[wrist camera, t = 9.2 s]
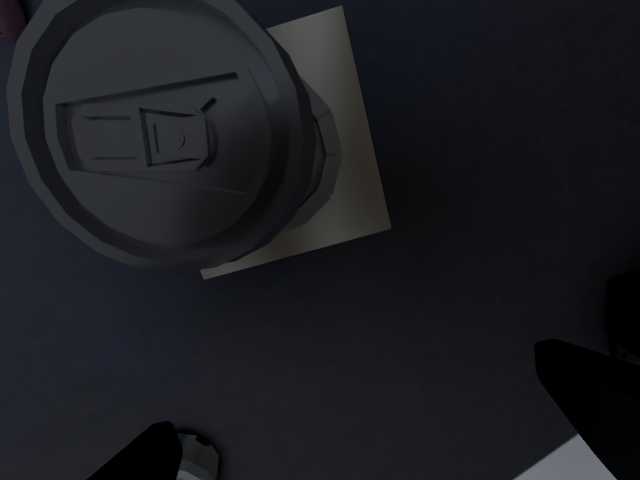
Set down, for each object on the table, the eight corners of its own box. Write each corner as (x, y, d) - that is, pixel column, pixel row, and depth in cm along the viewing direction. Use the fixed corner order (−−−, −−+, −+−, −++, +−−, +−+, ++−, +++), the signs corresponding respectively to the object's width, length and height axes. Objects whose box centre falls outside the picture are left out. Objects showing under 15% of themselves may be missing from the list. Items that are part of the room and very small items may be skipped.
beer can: (223, 205, 17) (36, 287, 6) (215, 106, 16) (-55, -56, 4) (315, 204, 17) (318, 282, 6) (314, 105, 16) (315, -55, 4)
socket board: (339, 17, 16) (346, -19, 13) (386, 224, 19) (400, 236, 16) (134, 80, 17) (93, 61, 14) (210, 273, 19) (191, 293, 16)
